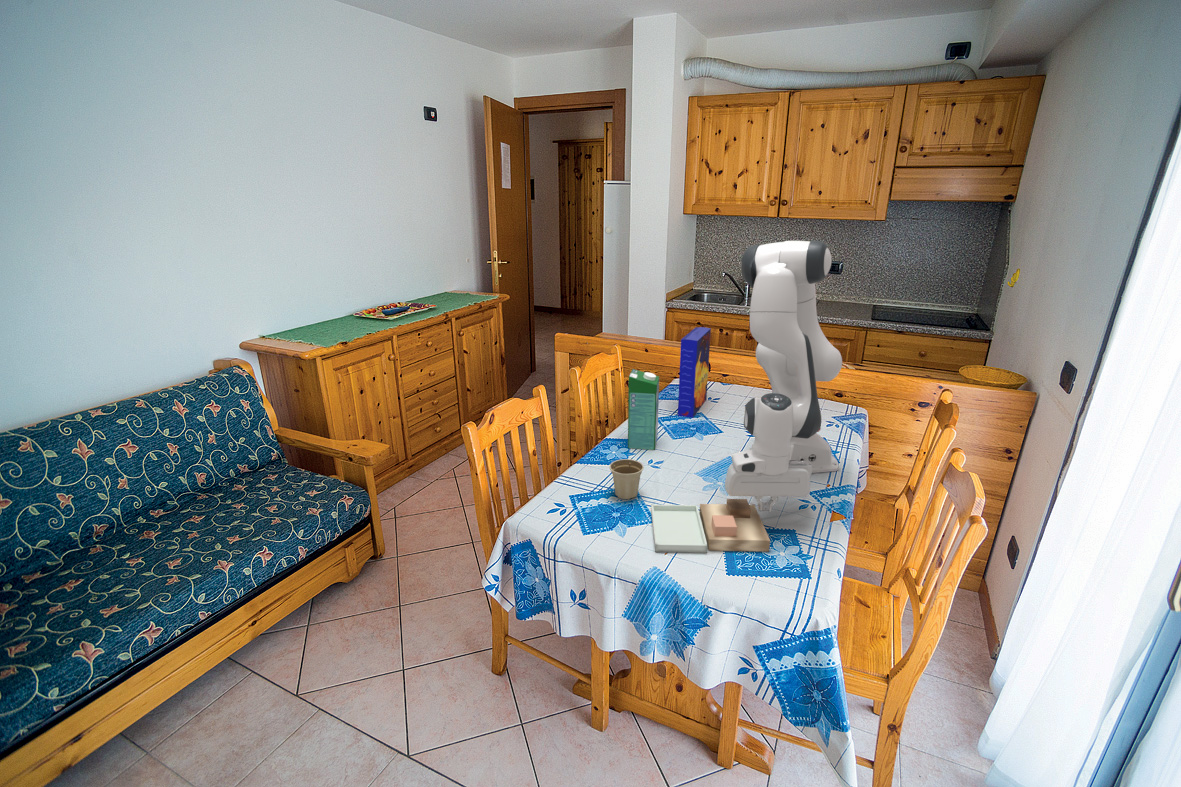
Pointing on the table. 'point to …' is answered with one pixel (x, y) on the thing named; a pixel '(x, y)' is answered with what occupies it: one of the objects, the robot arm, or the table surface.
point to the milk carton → (643, 410)
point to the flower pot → (626, 477)
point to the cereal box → (693, 371)
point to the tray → (678, 529)
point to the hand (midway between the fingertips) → (764, 510)
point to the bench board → (748, 531)
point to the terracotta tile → (724, 525)
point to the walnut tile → (738, 508)
